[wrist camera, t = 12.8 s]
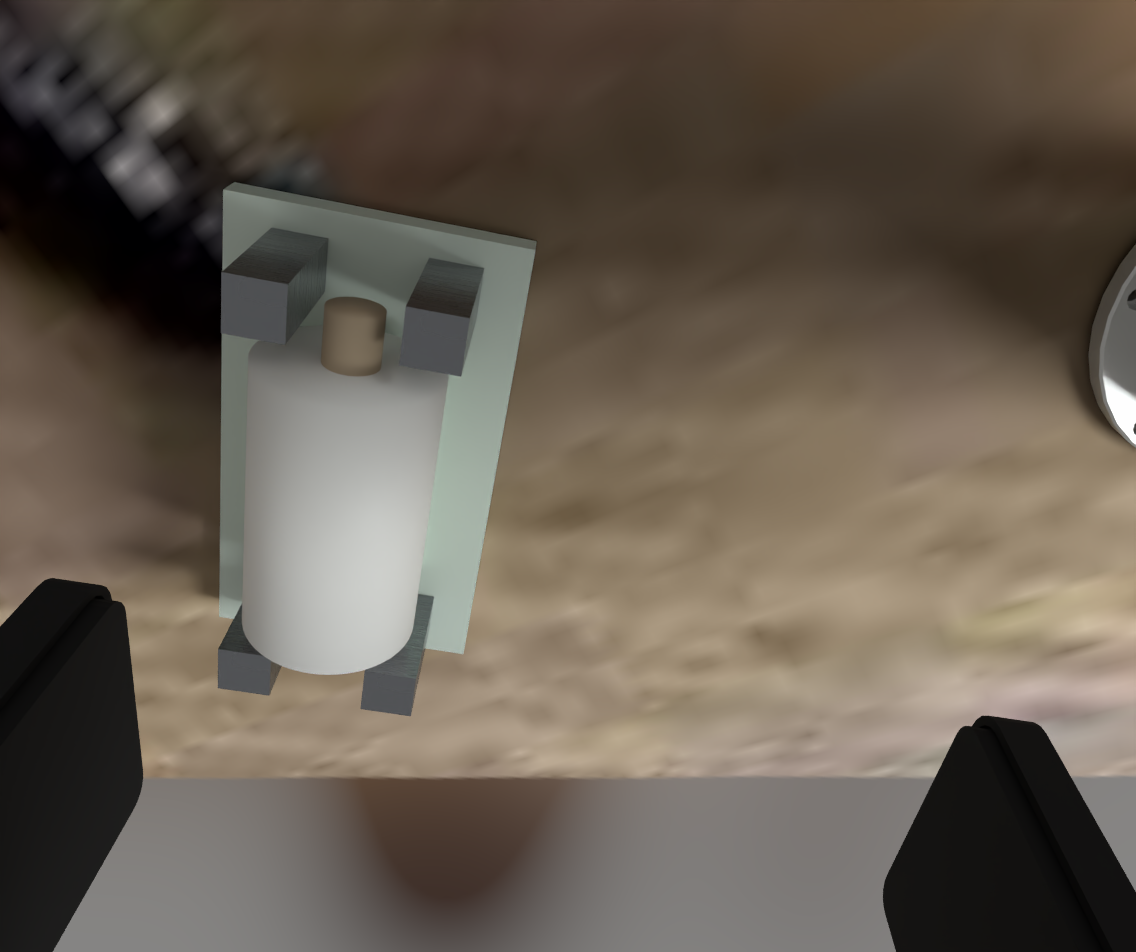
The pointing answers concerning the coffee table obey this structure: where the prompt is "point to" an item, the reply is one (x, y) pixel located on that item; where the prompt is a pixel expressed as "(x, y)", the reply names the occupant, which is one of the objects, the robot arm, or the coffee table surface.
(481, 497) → the roll holder
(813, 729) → the coffee table surface
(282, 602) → the paper roll
